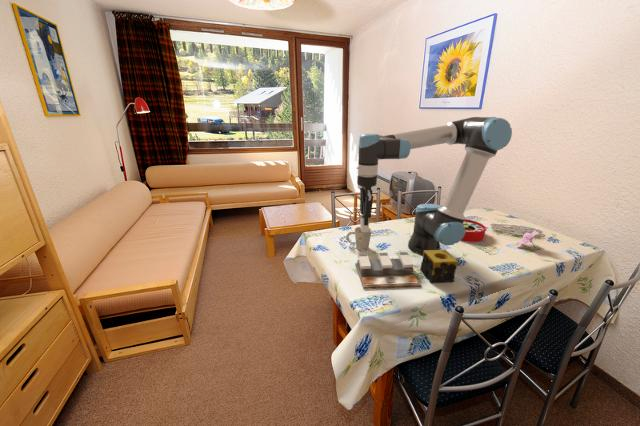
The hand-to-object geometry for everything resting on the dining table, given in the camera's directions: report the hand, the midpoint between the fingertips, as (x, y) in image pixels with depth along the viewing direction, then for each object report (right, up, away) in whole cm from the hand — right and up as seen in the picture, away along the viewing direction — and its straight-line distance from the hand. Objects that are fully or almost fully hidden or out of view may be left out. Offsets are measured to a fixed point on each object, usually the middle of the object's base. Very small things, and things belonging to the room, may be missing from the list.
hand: (364, 230), depth 115 cm
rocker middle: (+9, -14, +3) cm, 17 cm away
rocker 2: (+18, -14, +3) cm, 23 cm away
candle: (+30, -20, +1) cm, 36 cm away
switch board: (+9, -19, +1) cm, 21 cm away
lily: (+87, -10, +25) cm, 91 cm away
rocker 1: (0, -15, +3) cm, 15 cm away
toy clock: (+63, -5, +40) cm, 75 cm away
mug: (+1, -11, +25) cm, 27 cm away
